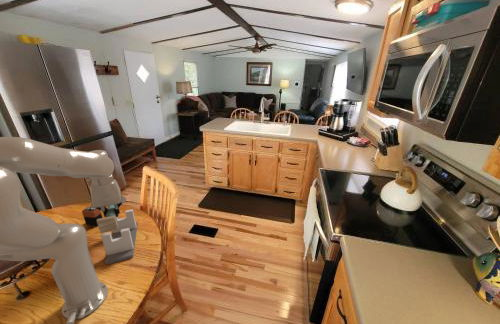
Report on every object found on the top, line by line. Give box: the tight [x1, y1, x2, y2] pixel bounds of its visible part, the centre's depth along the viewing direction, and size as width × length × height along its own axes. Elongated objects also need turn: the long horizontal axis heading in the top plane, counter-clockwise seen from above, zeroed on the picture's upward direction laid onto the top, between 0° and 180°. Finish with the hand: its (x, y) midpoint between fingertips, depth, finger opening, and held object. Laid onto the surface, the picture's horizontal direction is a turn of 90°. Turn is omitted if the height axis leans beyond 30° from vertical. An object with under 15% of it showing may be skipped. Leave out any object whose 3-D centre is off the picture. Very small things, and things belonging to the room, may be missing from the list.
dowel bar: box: [97, 203, 124, 234], centre depth 90 cm, size 20×6×6 cm, turn 25°
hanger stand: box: [100, 208, 138, 265], centre depth 95 cm, size 24×10×12 cm, turn 23°
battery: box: [81, 206, 103, 227], centre depth 107 cm, size 4×7×10 cm, turn 84°
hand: (112, 216), depth 91 cm, fingers closed on dowel bar, 3 cm apart
